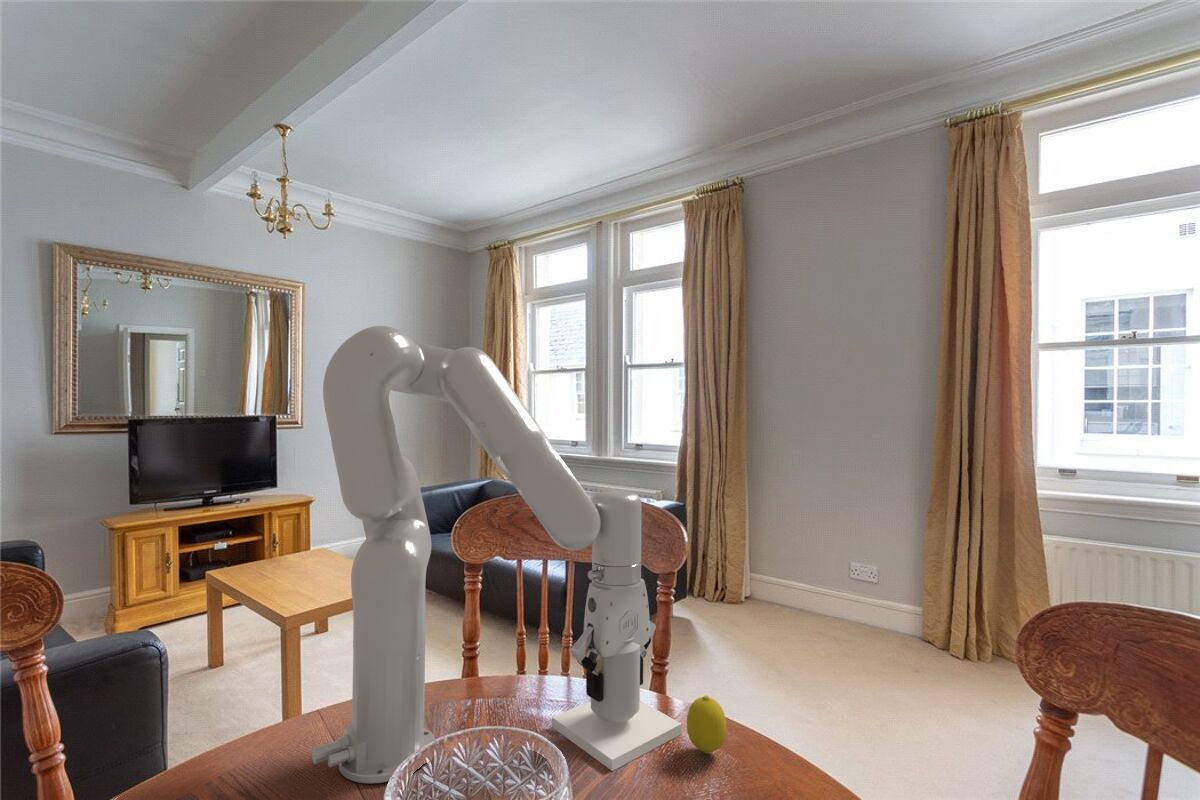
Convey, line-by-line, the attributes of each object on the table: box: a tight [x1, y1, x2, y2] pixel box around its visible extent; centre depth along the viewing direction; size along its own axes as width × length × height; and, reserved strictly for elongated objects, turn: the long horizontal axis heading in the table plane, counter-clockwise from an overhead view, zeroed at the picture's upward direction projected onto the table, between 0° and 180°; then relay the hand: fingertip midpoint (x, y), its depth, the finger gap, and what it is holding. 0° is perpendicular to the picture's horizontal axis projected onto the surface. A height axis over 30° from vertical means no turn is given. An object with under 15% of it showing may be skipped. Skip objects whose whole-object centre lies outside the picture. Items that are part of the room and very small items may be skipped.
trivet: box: [551, 700, 683, 772], centre depth 85 cm, size 14×14×2 cm
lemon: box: [686, 695, 727, 755], centre depth 80 cm, size 6×6×8 cm
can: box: [590, 638, 641, 722], centre depth 85 cm, size 8×8×12 cm
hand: (615, 688), depth 85 cm, fingers closed on can, 7 cm apart
